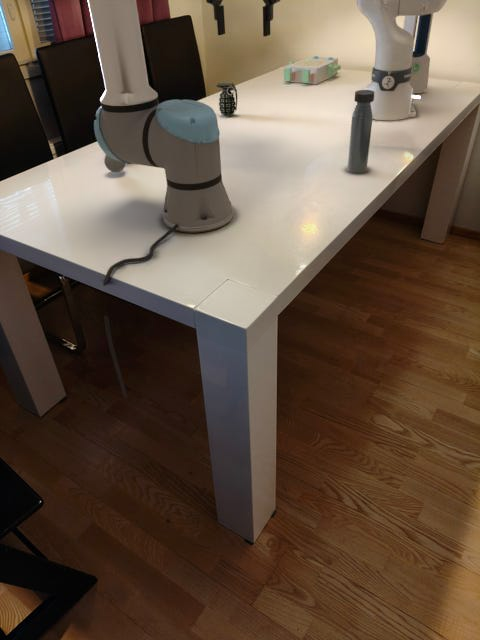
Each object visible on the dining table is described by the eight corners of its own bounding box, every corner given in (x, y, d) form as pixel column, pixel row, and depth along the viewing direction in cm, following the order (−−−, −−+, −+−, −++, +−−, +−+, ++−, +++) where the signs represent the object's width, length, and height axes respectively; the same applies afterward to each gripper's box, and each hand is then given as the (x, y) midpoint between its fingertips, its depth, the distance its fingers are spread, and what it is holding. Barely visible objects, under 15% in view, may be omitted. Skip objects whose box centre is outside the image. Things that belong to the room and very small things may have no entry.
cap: (356, 97, 117) (357, 89, 116) (375, 98, 115) (376, 90, 114) (352, 102, 114) (353, 94, 112) (372, 103, 112) (372, 94, 111)
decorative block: (306, 54, 217) (347, 57, 207) (305, 70, 221) (345, 73, 211) (275, 65, 201) (318, 69, 191) (275, 82, 205) (317, 87, 195)
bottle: (349, 165, 127) (356, 91, 116) (368, 167, 126) (377, 91, 115) (345, 172, 124) (352, 96, 113) (364, 174, 122) (373, 97, 111)
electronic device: (396, 96, 178) (410, -2, 160) (386, 91, 184) (398, -4, 166) (427, 92, 181) (443, -5, 162) (416, 87, 186) (431, -6, 168)
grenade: (217, 117, 168) (214, 86, 162) (221, 112, 172) (219, 82, 166) (235, 117, 166) (233, 86, 160) (239, 113, 171) (238, 82, 165)
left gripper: (294, -71, 114) (292, 33, 127) (203, -65, 124) (210, 31, 137) (281, -70, 109) (280, 38, 122) (187, -64, 119) (196, 36, 132)
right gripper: (463, -65, 108) (449, 8, 117) (369, -60, 115) (363, 9, 123) (462, -65, 104) (448, 12, 112) (365, -59, 110) (358, 13, 118)
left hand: (243, 35), depth 129 cm, fingers open, 13 cm apart
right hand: (403, 11), depth 118 cm, fingers open, 8 cm apart
